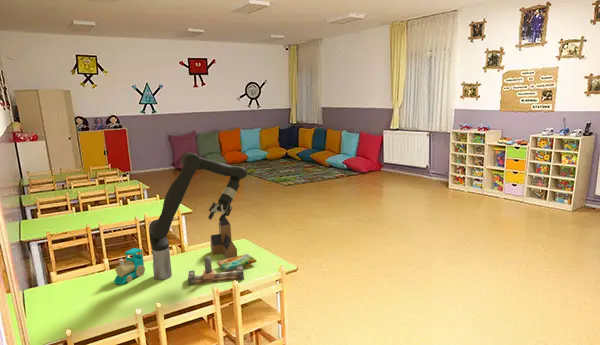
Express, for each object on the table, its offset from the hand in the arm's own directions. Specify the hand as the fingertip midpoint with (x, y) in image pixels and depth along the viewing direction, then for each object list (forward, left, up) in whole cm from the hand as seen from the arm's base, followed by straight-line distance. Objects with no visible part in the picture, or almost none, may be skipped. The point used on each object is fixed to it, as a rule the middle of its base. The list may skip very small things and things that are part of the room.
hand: (214, 220), depth 235 cm
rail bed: (-1, -12, -31) cm, 33 cm away
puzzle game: (+11, +2, -31) cm, 33 cm away
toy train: (-50, +1, -31) cm, 59 cm away
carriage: (-5, -12, -29) cm, 32 cm away
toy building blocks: (+4, +22, -31) cm, 38 cm away
